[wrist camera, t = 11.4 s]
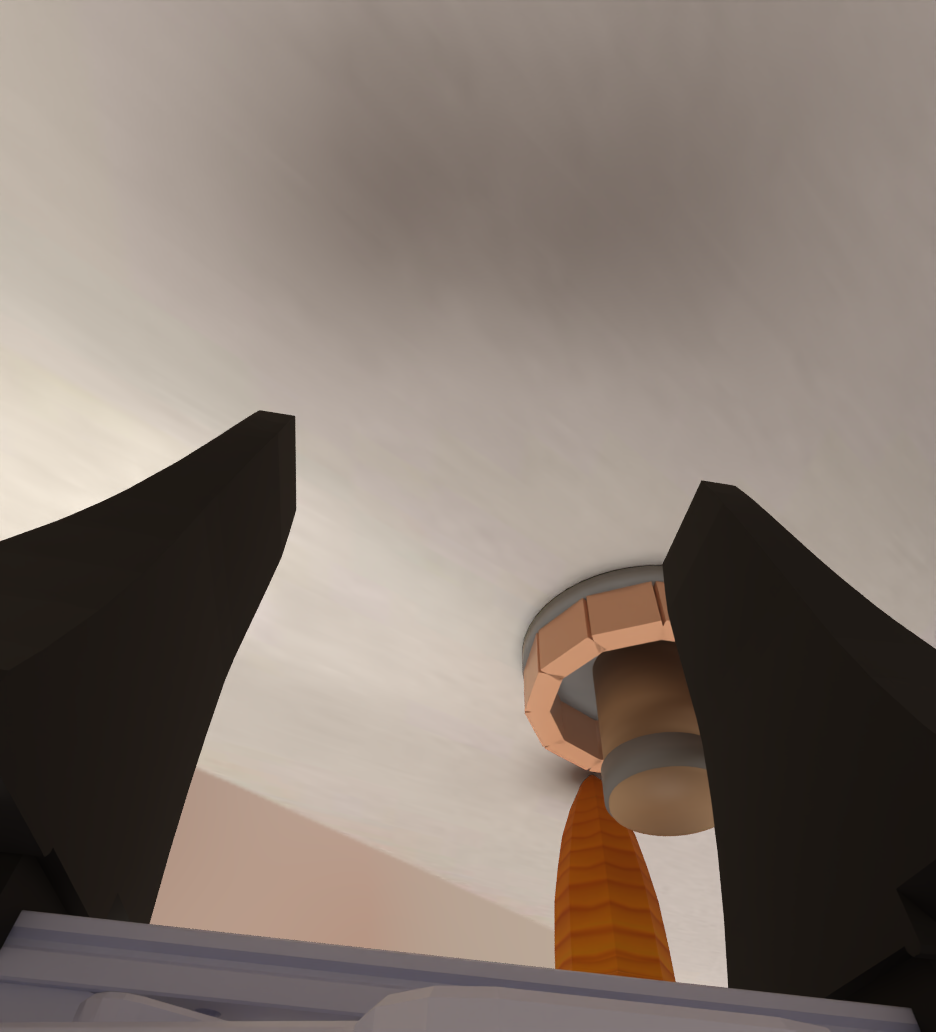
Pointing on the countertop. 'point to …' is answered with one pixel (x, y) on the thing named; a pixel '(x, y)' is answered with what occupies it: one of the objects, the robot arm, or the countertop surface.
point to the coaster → (586, 654)
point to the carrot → (606, 897)
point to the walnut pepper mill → (650, 742)
